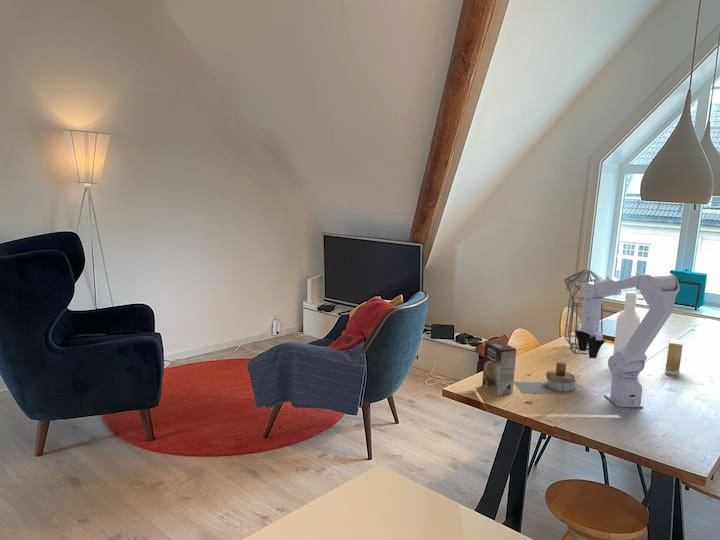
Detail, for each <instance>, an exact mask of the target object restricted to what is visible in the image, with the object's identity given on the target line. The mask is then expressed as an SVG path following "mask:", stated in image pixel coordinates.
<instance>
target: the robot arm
mask: <svg viewBox="0 0 720 540" xmlns="http://www.w3.org/2000/svg"><path fill="white" fill-rule="evenodd" d="M678 280H679V279H678V278H677V277H676V275H674V274H672V273H670V272H667V273H651V274H650V273H647V274H637V275H632V276H629V277H625V278H621V279H619V278H617V277H613V276H606V277H605V279H604V278H603V280H602V279H601V280H594V281H595V282H593V281H592V282H591V281H589V282H583V283H582V284H581V285H580V286H581V288H580V289H581V291H580V294H581V297H582V298H584V299H583V300H582V303H583V304H582V313H581V322H580V323H579V322H577V330H575V329H574V335H575V334H576V341H577V343H578V345H577V347H579V350H578V352H586V351H587V350H586V349H588V348H589V350H588V353H589V354H588V358H589V359H596V358H597V357H598V354H599V352H600V349H601V348H602V346H603V345H604V343H605V342H606V340H605V339H604V338H603V337H604V334H603V333H602V334H601V329H600V325H601V304H602V302H603V303H604V299H605V298H606V297H611V296H617V295H620V293H621V292H622V290H627V289H636V290H638V291H639V292H640V294H641V295H642V298H643V299H644V301H645V303H646V304H647V306H649V309H648V310H647V311H646V314H645V315H644V317H643V318H642V320H640V325H639V326H638V328H637V329H636V331H635V332H634V334H633V335H632V337H631V338H630V340H629V342H628V343H627V345H626V346H624V347H623V348H621V349H619V350H618V351H617V352H616V353H615V354H614V355H610V356H609V357H608V360H607V366H608V369H609V371H610V374H611V375H612V376H611V383H610V393H604V396H605V397H606V398H607V399H608V400H609V401H611V402H612V403H613V404H614V405H615V406H617V407H618V408H644V405H643V404H642V395H643V386H642V384H641V383H640V382H639V379H638V376H640V373H641V372H642V371H643V370H644V369H645V365H646V361H647V359H648V356H647V354H646V352H647V350H648V348H649V347H650V346H651V344H652V343H653V341H654V340H655V339H656V338H657V337H656V336H658V334H659V333H660V331H661V329H662V328H663V327H664V325H665V323H666V322H667V321H668V319H669V317H670V316H671V315H672V313H673V312H674V308H675V307H674V306H675V303H676V296H677V294H679V291H680V290H681V288H680V284H679V281H678ZM590 335H591V336H592V337H590ZM589 337H590V338H589ZM587 345H588V346H587Z"/></svg>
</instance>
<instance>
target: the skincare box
mask: <svg viewBox="0 0 720 540" xmlns="http://www.w3.org/2000/svg"><path fill="white" fill-rule="evenodd" d="M683 343H684V342H683V340H681V339H673V338H669V339H668V345H667V346H668V347H667V357H666V363H665V369H664V370H665V375H671V376H677V377H678V376H679V375H680V368H681V360H682V354H683V353H682V352H683Z"/></svg>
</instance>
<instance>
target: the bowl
mask: <svg viewBox="0 0 720 540" xmlns="http://www.w3.org/2000/svg"><path fill="white" fill-rule="evenodd" d="M546 386H547V387H548V388H550V389H553V390H557V391H560V392H572V391H575V390H576V387H577V379H576V378H575V379H574V382H572V383H558V382H554V381H551V380H549V379H548V378H547V377H546Z"/></svg>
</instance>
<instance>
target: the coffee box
mask: <svg viewBox="0 0 720 540" xmlns="http://www.w3.org/2000/svg"><path fill="white" fill-rule="evenodd" d="M516 359H517V348H515V347H513V346H511V345H508V344H507V343H505V342H503V341H501V340H498V341H486V342H484V355H483V367H482V368H483V372H482V384H481V385H482V387H483V388H484V389H486V390H487V391H490V392H492V393H493V394H494V395H496V396H503V395H505V396H506V395H511V394H513V393H514V385H515V384H514V382H515V372H516V371H515V370H516V369H515V368H516Z"/></svg>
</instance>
